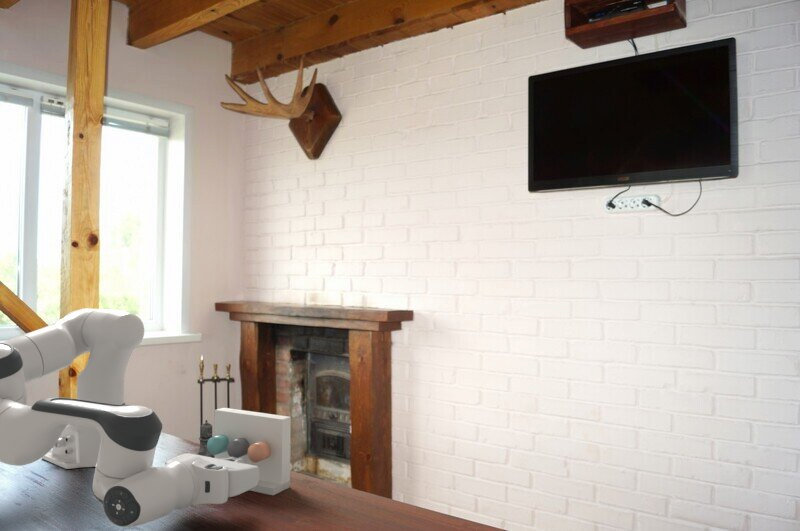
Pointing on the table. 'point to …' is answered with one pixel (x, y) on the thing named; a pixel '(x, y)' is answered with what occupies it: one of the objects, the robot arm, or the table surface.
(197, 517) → the table surface
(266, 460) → the console
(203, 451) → the grey stone chess piece
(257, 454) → the terracotta button
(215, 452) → the teal button
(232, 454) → the charcoal button
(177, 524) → the table surface
